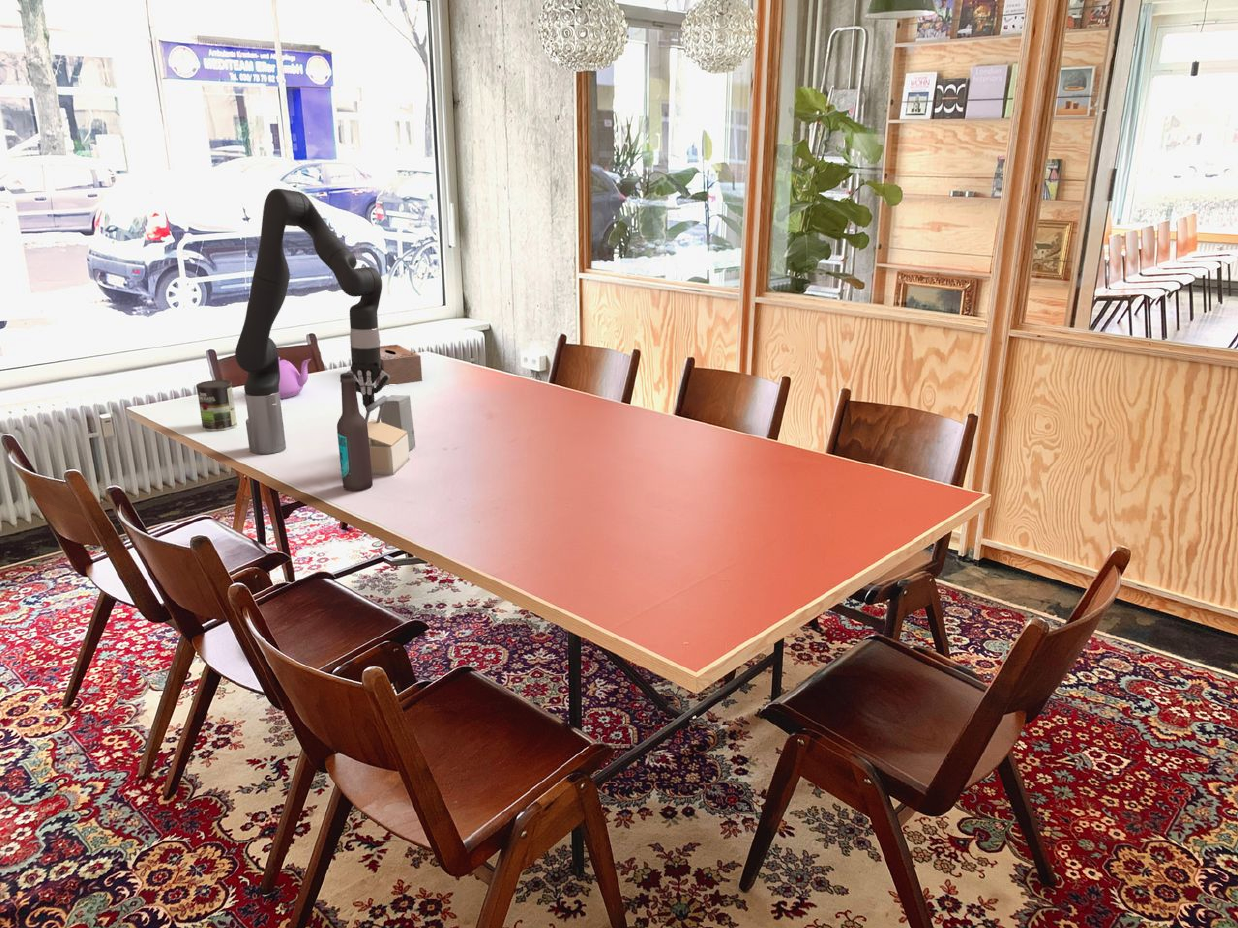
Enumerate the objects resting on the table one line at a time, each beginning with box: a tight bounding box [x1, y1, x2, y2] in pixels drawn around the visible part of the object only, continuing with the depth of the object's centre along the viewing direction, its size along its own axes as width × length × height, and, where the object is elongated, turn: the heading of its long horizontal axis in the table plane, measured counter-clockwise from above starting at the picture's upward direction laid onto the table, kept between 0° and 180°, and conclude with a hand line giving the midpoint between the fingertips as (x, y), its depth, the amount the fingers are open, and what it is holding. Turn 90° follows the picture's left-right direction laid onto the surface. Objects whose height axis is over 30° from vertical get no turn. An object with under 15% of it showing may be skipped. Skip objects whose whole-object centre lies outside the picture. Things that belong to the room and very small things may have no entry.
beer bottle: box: [336, 372, 374, 492], centre depth 236 cm, size 8×8×30 cm
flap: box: [364, 395, 407, 447], centre depth 252 cm, size 10×13×8 cm
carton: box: [369, 434, 411, 476], centre depth 255 cm, size 11×14×8 cm
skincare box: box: [378, 394, 416, 452], centre depth 268 cm, size 8×7×16 cm
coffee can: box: [195, 379, 238, 432], centre depth 292 cm, size 10×10×14 cm
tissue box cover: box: [376, 344, 423, 386], centre depth 358 cm, size 26×14×10 cm, turn 32°
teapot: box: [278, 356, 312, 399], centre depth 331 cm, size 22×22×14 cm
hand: (369, 407), depth 252 cm, fingers closed
